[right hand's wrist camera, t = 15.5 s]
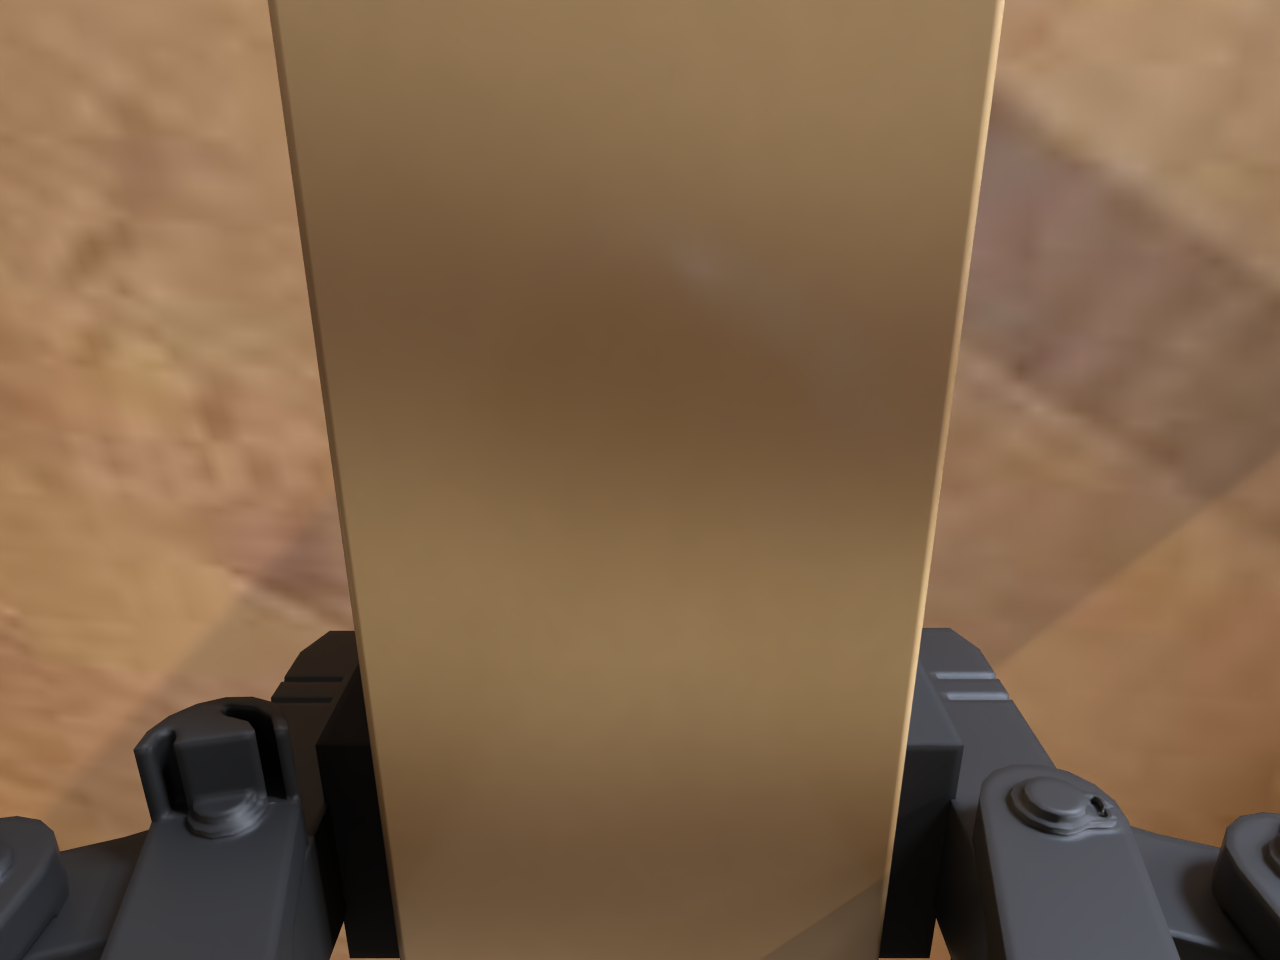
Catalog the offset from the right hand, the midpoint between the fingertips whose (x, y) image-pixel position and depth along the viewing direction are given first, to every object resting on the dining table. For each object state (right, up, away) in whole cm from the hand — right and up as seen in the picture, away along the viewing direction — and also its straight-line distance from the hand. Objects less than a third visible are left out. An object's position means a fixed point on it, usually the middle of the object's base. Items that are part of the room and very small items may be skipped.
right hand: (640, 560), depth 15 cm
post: (0, +20, -7) cm, 22 cm away
